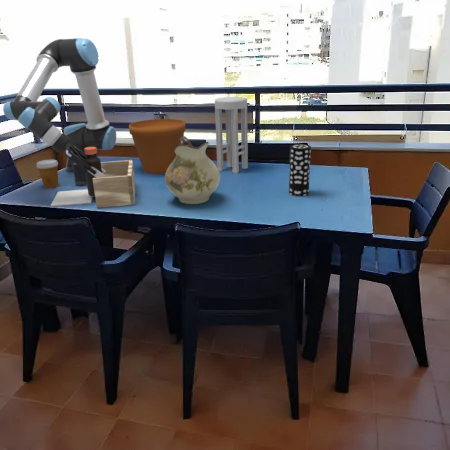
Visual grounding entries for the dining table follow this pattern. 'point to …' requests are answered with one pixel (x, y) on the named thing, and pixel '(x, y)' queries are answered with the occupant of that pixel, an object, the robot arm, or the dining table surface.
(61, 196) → the mat
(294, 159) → the white-spotted black cylinder
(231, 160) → the stool
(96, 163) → the vinegar
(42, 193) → the dining table surface
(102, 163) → the crate
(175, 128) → the flowerpot
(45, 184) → the disposable coffee cup
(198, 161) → the pitcher
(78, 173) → the small box
